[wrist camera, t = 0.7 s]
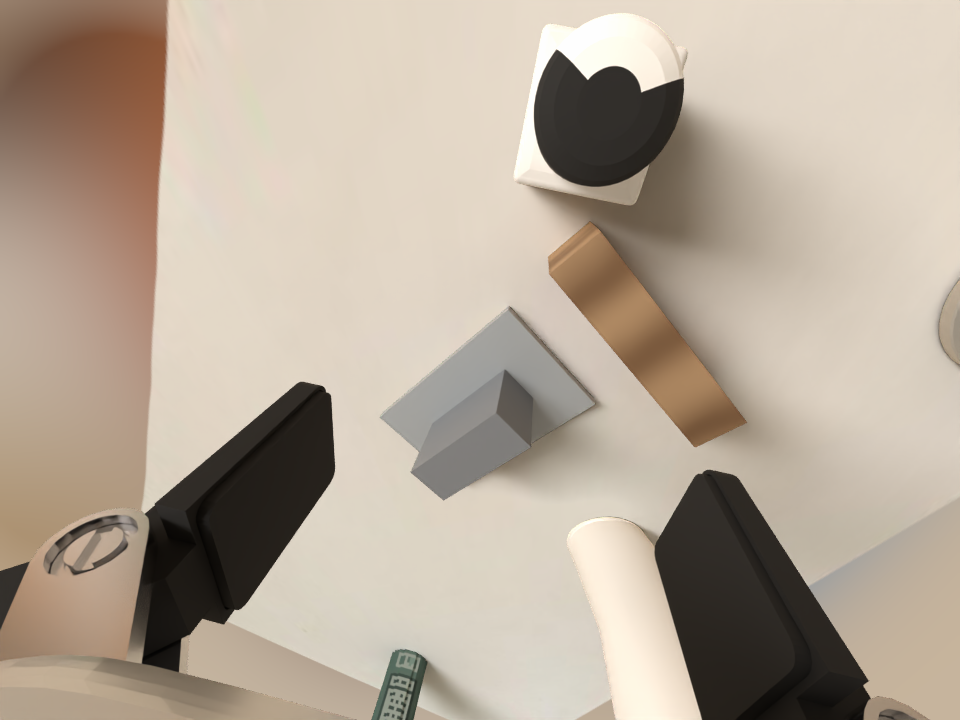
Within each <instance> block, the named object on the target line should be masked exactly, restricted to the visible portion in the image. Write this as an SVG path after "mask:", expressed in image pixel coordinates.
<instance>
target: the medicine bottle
mask: <svg viewBox="0 0 960 720" xmlns="http://www.w3.org/2000/svg"><path fill="white" fill-rule="evenodd" d="M687 54H688V52H687V50H686V49H685V48H684V47H679V46H674V44H673V42H672V41H671V39H670V38H669V37H668V35H667V34H666V33H665V32H664V31H663V30H662V29H661V28H660V27H659V26H658V25H656V24H655V23H653V22H652V21H650V20H648V19H646V18H643V17H641V16H637V15H633V14H623V13H617V14H610V15H605V16H602V17H599V18H596V19H593V20H591V21H589V22H587V23H585V24H584V25H582V26H581V27H579V28H572V27H567V26H561V25H555V24H547V25H546V26H545V27H544V29H543V31H542V34H541V40H540V45H539V50H538V55H537V60H536V65H535V70H534V75H533V80H532V85H531V90H530V95H529V100H528V106H527V111H526V116H525V121H524V126H523V131H522V136H521V141H520V146H519V151H518V156H517V161H516V166H515V172H514V180H515V181H516V182H517V183H519V184H524V185H529V186H534V187H539V188H544V189H549V190H554V191H558V192H563V193H568V194H573V195H578V196H583V197H588V198H593V199H598V200H603V201H608V202H613V203H618V204H623V205H628V206H630V205H633V204H635V203H636V201H637V199H638V196H639V193H640V190H641V187H642V185H643V182H644V179H645V176H646V173H647V170H648V168H649V165H650V163H651V162H652V161H653V160H654V159H655V158H656V157H657V155H658V154H659V153H660V152H661V150H662V149H663V148H664V146H665V145H666V143H667V142H668V140H669V138H670V137H671V134H672V132H673V130H674V128H675V126H676V123H677V121H678V118H679V115H680V111H681V107H682V102H683V93H684V77H683V68H684V65H685V62H686V59H687Z"/></svg>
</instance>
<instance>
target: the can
mask: <svg viewBox="0 0 960 720" xmlns="http://www.w3.org/2000/svg"><path fill="white" fill-rule="evenodd" d="M426 665H427V662H426V661H425V659H424V658H423V657H421V655H419V654H417V653H416V652H413V651H409V650H406V649H405V650H401V649H400V650H398V651H396V650H395V652H393V653H392V656H391V659H390V663H389V666H388V669H387V672H386V675H385V679H384V682H383V685H382V688H381V691H380V694H379V698H378V701H377V704H376V707H375V710H374V713H373V717H372V720H413V719H414V715H415V710H416V707H417V702H418V698H419V694H420V690H421V686H422V681H423V677H424V673H425V669H426Z"/></svg>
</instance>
